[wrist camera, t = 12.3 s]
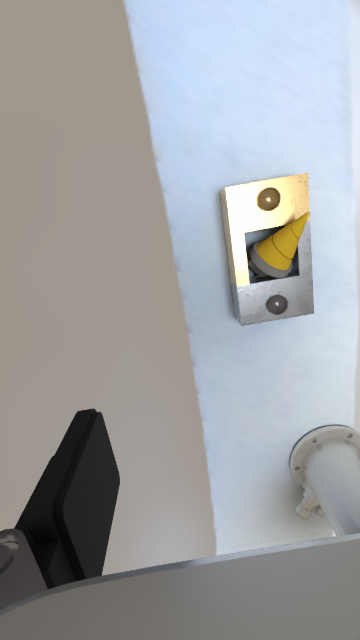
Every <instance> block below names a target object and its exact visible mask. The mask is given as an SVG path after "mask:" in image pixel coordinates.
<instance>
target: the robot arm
mask: <svg viewBox="0 0 360 640" xmlns="http://www.w3.org/2000/svg"><path fill="white" fill-rule="evenodd" d="M290 469H291V473H292V475H293V477H294V479H295V480H296V482H297V483H298V484H299V485H300V486H301V487H302V488H303V489H305V492H304V493H303V495H304V499H303V500H302V501H301V502H300V503H299V505H298V506H297V508H296V513H297V515H298V516H299V517H300V518H302V519H304V520H305V519H307V518H308V516H309V515H310V513H311V512H312V509H313V507H314V506H316V508H315V509H314V511H315V513H316V514H317V515H319V516H321V517H322V516H323V514H325V516H326V517H327V519H328V521H329V523H330V525H331V527H332V528H333V530H334V532H335V534H336V536H337V537H331V538H324V539H318V540H312V541H305V542H299V543H293V544H286V545H280V546H274V547H268V548H261V549H255V550H249V551H243V552H237V553H231V554H225V555H218V556H213V557H206V558H200V559H194V560H188V561H182V562H176V563H170V564H164V565H158V566H152V567H147V568H142V569H136V570H130V571H125V572H120V573H114V574H109V575H104V576H102V570H103V566H104V560H105V556H106V551H107V546H108V540H109V535H110V530H111V525H112V520H113V515H114V510H115V505H116V500H117V495H118V490H119V485H120V477H119V471H118V468H117V465H116V461H115V457H114V454H113V451H112V447H111V443H110V440H109V436H108V433H107V429H106V426H105V422H104V419H103V416H102V413H101V412H96V410H95V409H88V410H82V411H78V412H77V413H76V415H75V416H74V418H73V420H72V422H71V424H70V426H69V428H68V430H67V432H66V434H65V436H64V438H63V440H62V442H61V444H60V446H59V448H58V449H57V451H56V453H55V455H54V456H53V457H52V458H51V459H50V461H49V463H48V465H47V467H46V469H45V471H44V472H43V475H42V476H41V478H40V480H39V482H38V484H37V486H36V488H35V490H34V492H33V494H32V495H31V497H30V499H29V501H28V503H27V505H26V507H25V509H24V511H23V513H22V515H21V516H20V518H19V521H18V522H17V524H16V526H15V528H14V529H5V530H2V531H0V640H360V434H359V433H358V432H356V431H355V430H353V429H351V428H348V427H344V426H326V427H322V428H319V429H316V430H314V431H312V432H310V433H309V434H307V435H306V436H304V437H303V438H302V439H301V440H300V441H299V442H298V444H297V445H296V446H295V448H294V450H293V452H292V454H291V458H290Z"/></svg>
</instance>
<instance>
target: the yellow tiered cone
mask: <svg viewBox="0 0 360 640" xmlns="http://www.w3.org/2000/svg"><path fill="white" fill-rule="evenodd" d="M309 213H310V212H309V211H308V212H307V213H305V214H304V215H302V216H300V217H299V218H297V219H296V220H294V221H293V222H291V223H290V224H288V225H287V226H285V227H284V228H282V229H281V230H279V231H277V232H276V233H274V234H273V235H271V236H270V237H268V238H267V239H265V240H264V241H257V242H256V243H255V244H254V245H253V247H252V248H251V249H250V257H251V259H250V261H249V262H248V263H247V265H248V266H249V267H250V268H251V269H252V270H253V271H254V272H256V273H257V276H256V278H259V277H266V276H273V277H276V278H284V277H286V275H287V274H288V273H289V272H290V271H291V270H292V259H293V256H294V254H295V251H296V248H297V246H298V243H299V240H298V239H300V237H301V235H302V232H303V229H304V227H305V224H306V221H307V218H308V216H309Z"/></svg>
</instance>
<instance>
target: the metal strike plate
mask: <svg viewBox="0 0 360 640" xmlns="http://www.w3.org/2000/svg"><path fill="white" fill-rule="evenodd" d="M220 199H221V207H222V215H223V223H224V232H225V240H226V248H227V256H228V264H229V272H230V280H231V288H232V296H233V304H234V312H235V317H236V319H237V320H238V321H239V323H240V324H241V326H244V325H249V324H255V323H261V322H267V321H272V320H278V319H284V318H290V317H296V316H301V315H307V314H313V313H314V304H313V280H312V257H311V234H310V213H309V216H308V218H307V221H306V224H305V227H304V229H303V232H302V235H301V237H300V239H298V240H299V243H298V246H297V248H296V251H295V254H294V256H293V259H292V270H291V271H290V272H289V273H288V274H287V275H286V277H284V278H276V277H273V276H266V277H259V278H256V277H251V278H249V274H248V265H247V255H246V246H245V236H244V232H250V231H255V230H261V229H266V228H272V227H278V226H283V225H284V227H285V226H287V225H288V224H290V223H291V222H293V221H294V220H296V219H297V218H299V217H300V216H302V215H304V214H305V213H307V212H308V211H309V188H308V173H303V174H298V175H292V176H287V177H281V178H276V179H270V180H265V181H259V182H254V183H248V184H243V185H237V186H232V187H226V188H224V189H223V190H222V191H220ZM309 212H310V211H309Z"/></svg>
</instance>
